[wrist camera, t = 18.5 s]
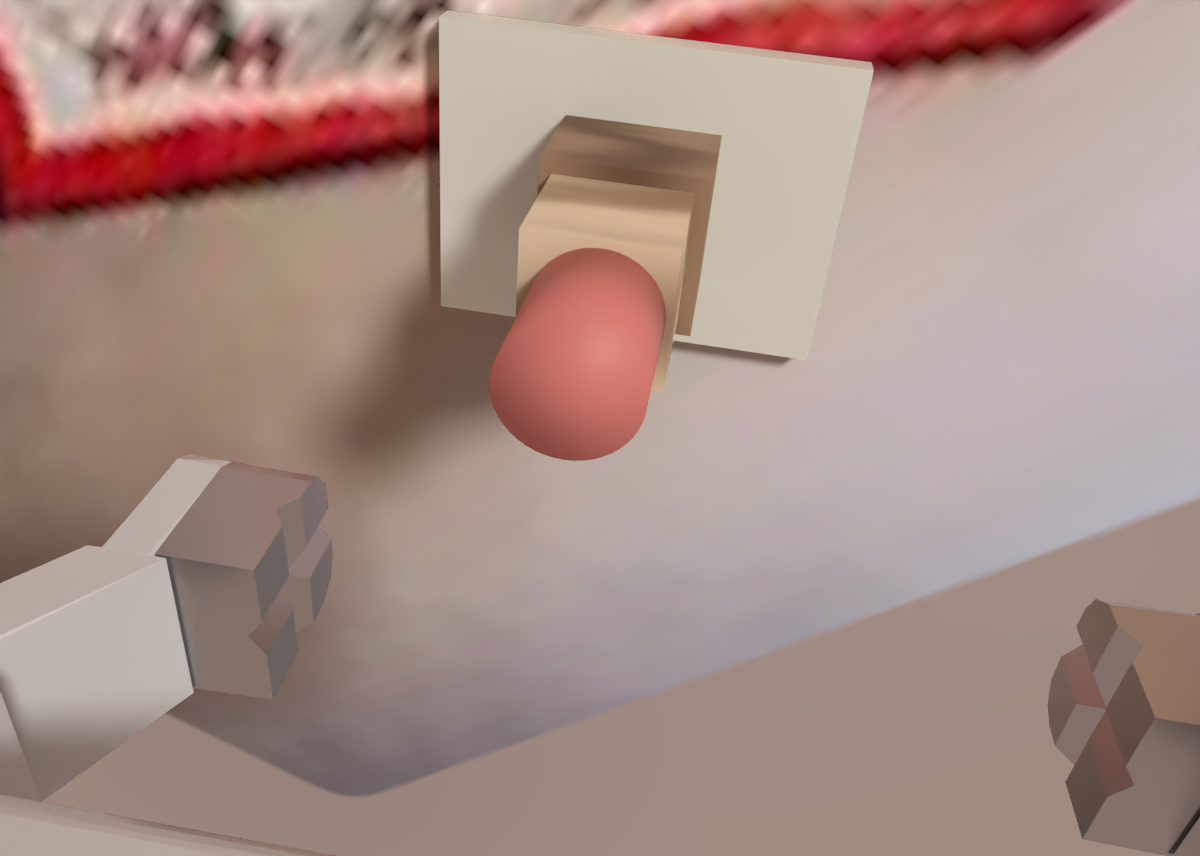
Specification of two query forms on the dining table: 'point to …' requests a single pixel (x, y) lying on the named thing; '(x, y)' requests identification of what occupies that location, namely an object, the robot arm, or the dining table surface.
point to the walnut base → (643, 175)
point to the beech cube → (611, 237)
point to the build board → (661, 99)
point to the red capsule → (580, 356)
